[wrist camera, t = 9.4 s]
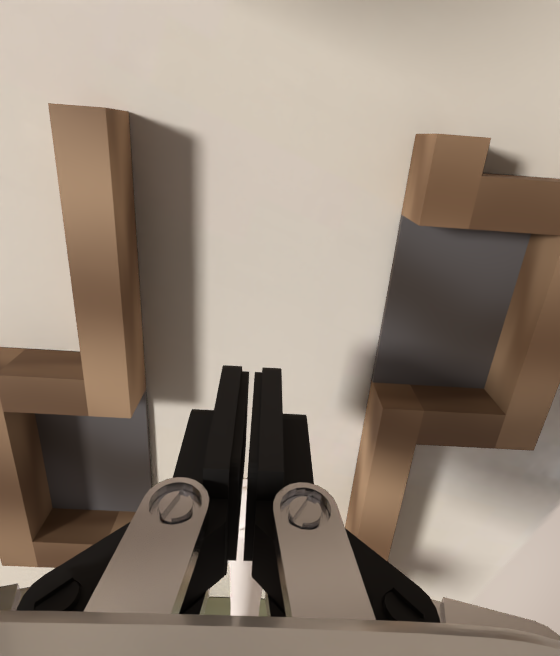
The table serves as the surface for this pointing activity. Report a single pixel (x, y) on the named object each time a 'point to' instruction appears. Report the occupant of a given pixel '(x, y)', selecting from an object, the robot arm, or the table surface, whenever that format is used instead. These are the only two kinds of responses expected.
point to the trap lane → (390, 363)
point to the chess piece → (243, 574)
